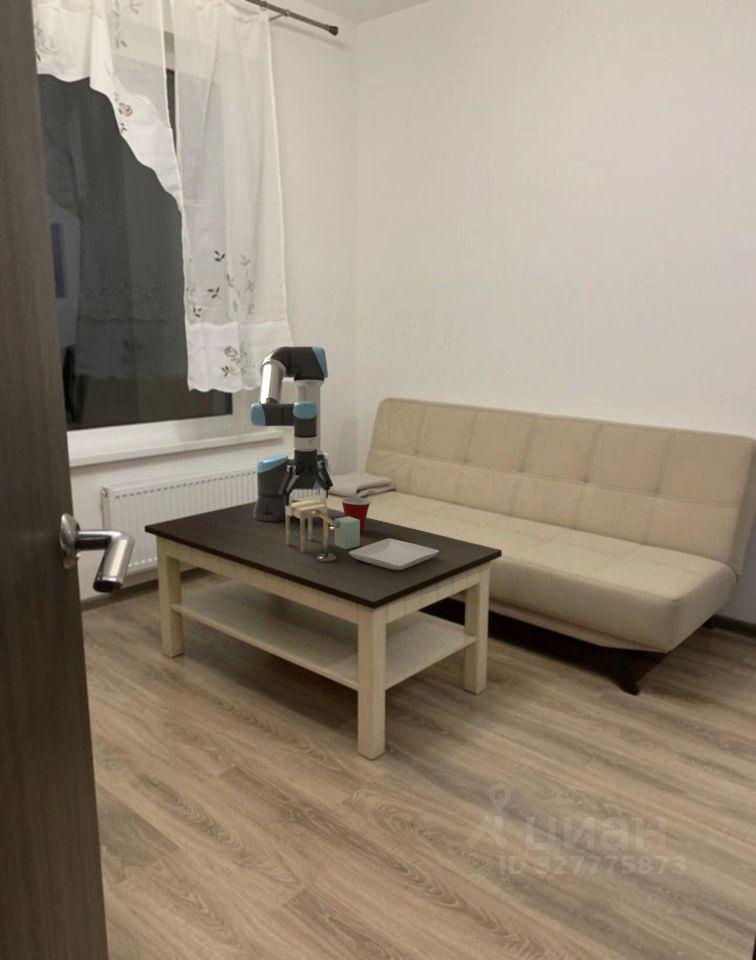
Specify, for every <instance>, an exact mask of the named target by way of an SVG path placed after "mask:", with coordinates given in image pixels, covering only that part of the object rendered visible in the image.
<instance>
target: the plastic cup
mask: <svg viewBox="0 0 756 960" xmlns="http://www.w3.org/2000/svg"><path fill="white" fill-rule="evenodd" d="M340 501H341V503H342V508H343V514H344V517H348V516H350V517H352V518H355V519H358V520H360V535H361V534H363V533H364V531H365V527H366V526H365V525H366V521H367V515H368V510H369V507H370V504H371V503H372V501H371V500H370V499H367V498H364V497H363V498H362V497H354V496H352V497H351V496H350V497H343V498H341V499H340Z"/></svg>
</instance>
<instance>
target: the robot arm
mask: <svg viewBox="0 0 756 960" xmlns="http://www.w3.org/2000/svg"><path fill="white" fill-rule="evenodd" d="M259 373H260V376H261V382H260V388H259V393H258V394H259V396H258V402H257V403H252V404H251V405H250V422H251V425H252V426H256V427H293V431H294V432H293V436H294V437H293V447H294V451H293V458H292V459H290V458H289V456H288V454H274V455H269V456H265V457H262V458H260V459H259V460H258V461H257V465H256V466H257V469H256V473H257V476H256V477H257V499H256V502H255V505H254V508H253V518H254V519H255V520H258V521H262V522H282V521H286V514H287V515H289V516H290V519H292V518H293V517H294V516H292V503H293V496H292V495H291V494H292V492H293V491H294V490H295V491H314V490H317V491H318V490H319V503H321V504H324V505H326V506H327V499H329V491H330V490H331V488H333V487H334V483H333V481H332V479H331V476H330V475H329V473H328V466H329V459H328V458H325V457H326V455H325V453H324V452H323V451H322V448H321V447H322V445H321V444H322V443H321V442H322V441H321V438H322V437H321V432H322V431H321V427H322V426H321V419H322V418H321V387H322V386H323V385H324V384H325V379H327V378H328V377H329V371H328V364H327V358H326V350H325V349H324V348H323V347H321V346H320V347H319V346H280V347H278V348H275V349H274V350H271V352H269V353H268V354H266V356H265V357H264V358H263V359H262V361H261V363H260V367H259ZM285 378H286V379H287V378H292V379H293V383H294V385H296V387H297V401H295V402H294V403H281V401H282V390H283V380H284V379H285ZM285 506H286V507H285Z"/></svg>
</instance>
